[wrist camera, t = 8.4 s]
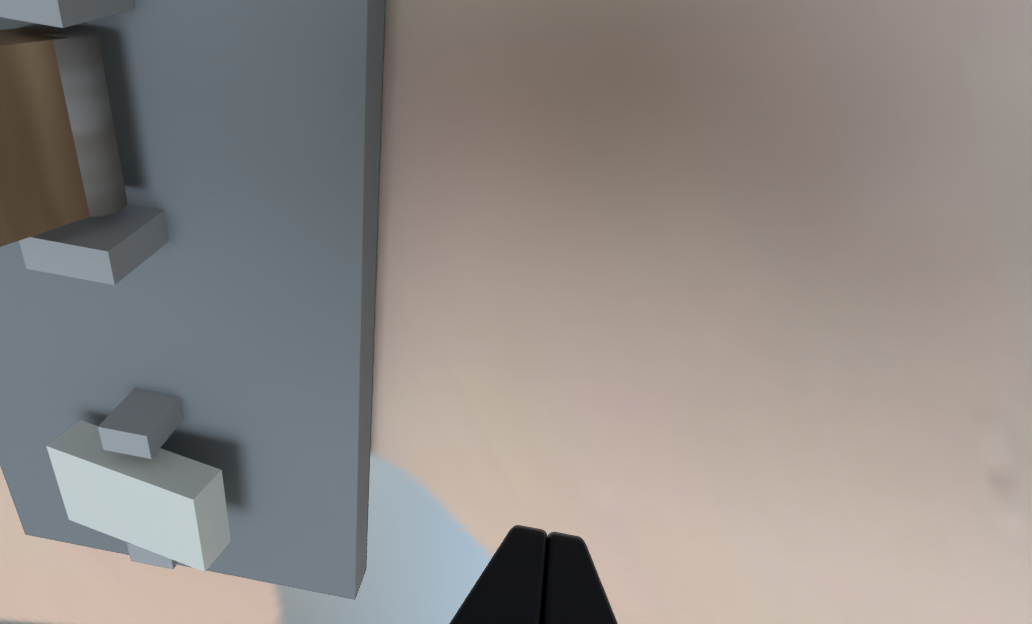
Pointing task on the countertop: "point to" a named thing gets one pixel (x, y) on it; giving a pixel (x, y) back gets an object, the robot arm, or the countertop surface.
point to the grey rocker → (142, 497)
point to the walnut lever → (55, 131)
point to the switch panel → (215, 279)
